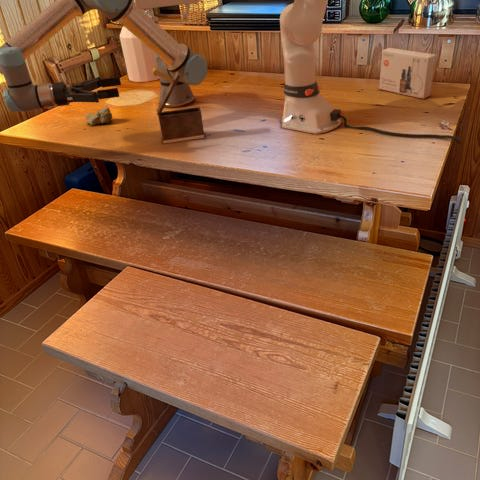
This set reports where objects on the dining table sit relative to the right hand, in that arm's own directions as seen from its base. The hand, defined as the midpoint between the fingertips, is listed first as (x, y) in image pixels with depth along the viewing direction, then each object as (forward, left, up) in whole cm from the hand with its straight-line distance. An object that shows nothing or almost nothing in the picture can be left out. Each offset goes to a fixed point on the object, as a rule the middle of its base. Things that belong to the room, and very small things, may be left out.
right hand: (171, 21), depth 147 cm
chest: (+1, +2, -39) cm, 39 cm away
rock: (+44, +13, -39) cm, 60 cm away
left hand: (+11, +17, -18) cm, 27 cm away
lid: (+2, +4, -23) cm, 23 cm away
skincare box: (-36, -83, -39) cm, 99 cm away
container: (+86, -38, -39) cm, 102 cm away
